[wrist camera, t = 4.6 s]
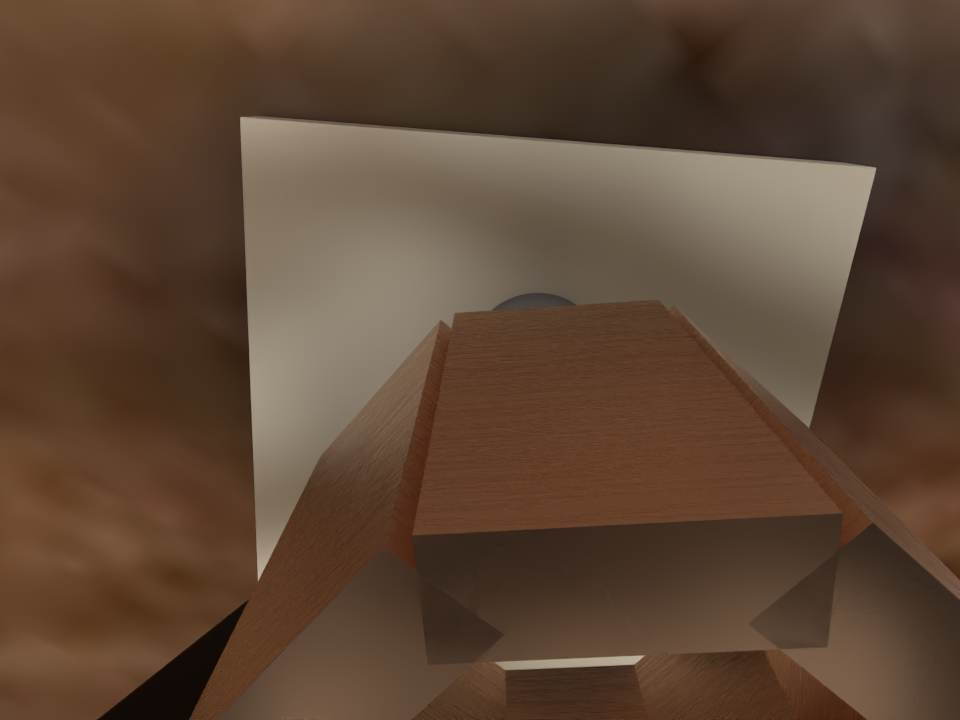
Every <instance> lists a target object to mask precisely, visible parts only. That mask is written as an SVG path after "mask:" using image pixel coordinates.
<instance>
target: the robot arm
mask: <svg viewBox="0 0 960 720" xmlns="http://www.w3.org/2000/svg"><path fill="white" fill-rule="evenodd" d="M248 601H249V600H247V601H246V602H245V603H244V604H242V605H241V606H240V607H239V608H237V609H236V610H235V611H234V612H232V613H231V614H230V615H229V616H227V617H226V618H225V619H224V620H222V621H221V622H220V623H218V624H217V625H216V626H215V627H213V628H212V629H211V630H210V631H208V632H207V633H206V634H205V635H203V636H202V637H201V638H200V639H198V640H197V641H196V642H195V643H193V644H192V645H191V646H189V647H188V648H187V649H186V650H184V651H183V652H182V653H181V654H179V655H178V656H177V657H176V658H174V659H173V660H172V661H171V662H169V663H168V664H167V665H166V666H164V667H163V668H162V669H161V670H159V671H158V672H157V673H155V674H154V675H153V676H152V677H150V678H149V679H148V680H147V681H145V682H144V683H143V684H142V685H140V686H139V687H138V688H137V689H135V690H134V691H133V692H132V693H130V694H129V695H128V696H126V697H125V698H124V699H123V700H121V701H120V702H119V703H118V704H116V705H115V706H114V707H113V708H111V709H110V710H109V711H108V712H106V713H105V714H104V715H103V716H101V717H100V718H99V719H97V720H189V719H190V717H191V715H192V713H193V711H194V709H195V707H196V705H197V703H198V701H199V699H200V697H201V695H202V693H203V691H204V689H205V687H206V685H207V683H208V681H209V679H210V677H211V675H212V673H213V671H214V669H215V667H216V665H217V663H218V661H219V659H220V657H221V655H222V653H223V651H224V649H225V647H226V645H227V643H228V641H229V639H230V637H231V635H232V633H233V631H234V629H235V627H236V625H237V623H238V621H239V619H240V617H241V615H242V613H243V611H244V609H245V607H246V605H247V603H248Z"/></svg>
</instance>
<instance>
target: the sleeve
mask: <svg viewBox="0 0 960 720" xmlns="http://www.w3.org/2000/svg"><path fill="white" fill-rule="evenodd" d="M642 655H645V656H644V657H643V658H641V659H640V660H639V661H638V662H637V663H635V664H634V665H613V666H590V667H567V668H544V669H521V670H505V669H503V668H502V667H500V666H499V665H497V664H496V663H495V662H507V661H529V660H552V659H574V658H597V657H620V656H642ZM189 720H960V581H959V580H958V579H957V578H956V577H955V576H954V575H953V574H952V573H951V572H950V571H949V570H948V569H947V567H946V566H945V565H944V564H943V563H942V562H941V561H940V560H939V559H938V558H937V557H936V556H935V555H934V554H933V553H932V552H931V551H930V550H929V549H928V548H927V547H926V546H925V545H924V544H923V543H922V542H921V541H920V540H919V539H918V538H917V537H916V536H915V535H914V534H913V533H912V532H911V531H910V530H909V529H908V528H907V527H906V526H905V525H904V524H903V523H902V522H901V521H900V520H899V519H898V518H897V517H896V516H895V515H894V514H893V513H892V512H891V511H890V510H889V509H888V508H887V507H886V506H885V505H884V504H883V503H882V502H881V501H880V500H879V499H878V498H877V497H876V495H875V494H874V493H873V492H872V491H871V490H870V489H869V488H868V487H867V486H866V485H865V484H864V483H863V482H862V481H861V480H860V479H859V478H858V477H857V476H856V475H855V474H854V473H853V472H852V471H851V470H850V469H849V468H848V467H847V466H846V465H845V464H844V463H843V462H842V461H841V460H840V459H839V458H838V457H837V456H836V455H835V454H834V453H833V452H832V451H831V450H830V449H829V448H828V447H827V446H826V445H825V444H824V443H823V442H822V441H821V440H820V439H819V438H818V437H817V436H816V435H815V434H814V433H813V432H812V431H811V430H810V429H809V428H808V427H807V426H806V425H805V424H804V423H803V422H802V421H801V420H800V419H799V418H797V417H796V416H795V415H794V414H793V413H792V412H791V411H790V410H789V409H788V408H786V407H785V406H784V405H783V404H782V403H781V402H780V401H779V400H778V399H777V398H776V397H774V396H773V395H772V394H771V393H770V392H769V391H768V390H767V389H766V388H765V387H763V386H762V385H761V384H760V383H759V382H758V381H757V380H756V379H755V378H754V377H752V376H751V375H750V374H749V373H748V372H747V371H746V370H745V369H744V368H743V367H741V366H740V365H739V364H738V363H737V362H736V361H735V360H734V359H733V358H732V357H730V356H729V355H728V354H727V353H726V352H725V351H724V350H723V349H722V348H721V347H720V346H718V345H717V344H716V343H715V342H714V341H713V340H712V339H711V338H710V337H709V336H707V335H706V334H705V333H704V332H703V331H702V330H701V329H700V328H699V327H698V326H696V325H695V324H694V323H693V322H692V321H691V320H690V319H689V318H688V317H687V316H685V315H684V314H683V313H682V312H681V311H680V310H679V309H678V308H677V307H676V306H675V305H673V306H672V307H671V308H670V309H669V310H667V309H666V307H665V306H664V305H663V304H662V303H661V302H660V300H647V301H631V302H616V303H600V304H585V305H570V306H554V307H539V308H523V309H508V310H493V311H477V312H462V313H455V314H454V319H453V324H452V328H450V327H449V326H448V325H447V324H446V323H444V322H443V321H442V320H440V321H439V322H438V323H437V324H436V326H435V327H434V328H433V329H432V330H431V331H430V332H429V333H428V335H427V336H426V337H425V338H424V339H423V340H422V341H421V343H420V344H419V345H418V346H417V347H416V348H415V349H414V350H413V352H412V353H411V354H410V355H409V356H408V357H407V358H406V360H405V361H404V362H403V363H402V364H401V365H400V366H399V367H398V369H397V370H396V371H395V372H394V373H393V374H392V375H391V376H390V378H389V379H388V380H387V381H386V382H385V383H384V384H383V386H382V387H381V388H380V389H379V390H378V391H377V392H376V393H375V395H374V396H373V397H372V398H371V399H370V400H369V401H368V403H367V404H366V405H365V406H364V407H363V408H362V409H361V410H360V412H359V413H358V414H357V415H356V416H355V417H354V418H353V419H352V421H351V422H350V423H349V424H348V425H347V426H346V427H345V429H344V430H343V431H342V432H341V433H340V434H339V435H338V436H337V438H336V439H335V440H334V441H333V442H332V443H331V444H330V446H329V447H328V448H327V449H326V450H325V451H324V452H323V453H322V455H321V456H320V458H319V460H318V462H317V464H316V466H315V468H314V470H313V472H312V474H311V476H310V478H309V480H308V482H307V484H306V486H305V488H304V490H303V492H302V494H301V496H300V498H299V500H298V502H297V504H296V506H295V508H294V510H293V512H292V514H291V516H290V518H289V520H288V522H287V524H286V526H285V528H284V530H283V532H282V534H281V536H280V538H279V540H278V542H277V544H276V546H275V548H274V550H273V552H272V554H271V556H270V558H269V560H268V562H267V564H266V566H265V568H264V570H263V572H262V574H261V576H260V578H259V580H258V582H257V584H256V586H255V588H254V591H253V593H252V595H251V597H250V599H249V601H248V603H247V605H246V607H245V609H244V611H243V613H242V615H241V617H240V619H239V621H238V623H237V625H236V627H235V629H234V631H233V633H232V635H231V637H230V639H229V641H228V643H227V645H226V647H225V649H224V651H223V653H222V655H221V657H220V659H219V661H218V663H217V665H216V667H215V669H214V671H213V673H212V675H211V677H210V679H209V681H208V683H207V685H206V687H205V689H204V691H203V693H202V695H201V697H200V699H199V701H198V703H197V705H196V707H195V709H194V711H193V713H192V715H191V717H190V719H189Z"/></svg>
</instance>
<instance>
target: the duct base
mask: <svg viewBox="0 0 960 720" xmlns="http://www.w3.org/2000/svg"><path fill="white" fill-rule="evenodd" d="M240 126H241V151H242V177H243V203H244V229H245V255H246V281H247V307H248V333H249V359H250V384H251V410H252V436H253V462H254V488H255V514H256V540H257V566H258V580H259V578H260V576H261V574H262V572H263V570H264V568H265V566H266V564H267V562H268V560H269V558H270V556H271V554H272V552H273V550H274V548H275V546H276V544H277V542H278V540H279V538H280V536H281V534H282V532H283V530H284V528H285V526H286V524H287V522H288V520H289V518H290V516H291V514H292V512H293V510H294V508H295V506H296V504H297V502H298V500H299V498H300V496H301V494H302V492H303V490H304V488H305V486H306V484H307V482H308V480H309V478H310V476H311V474H312V472H313V470H314V468H315V466H316V464H317V462H318V460H319V458H320V456H321V455H322V453H323V452H324V451H325V450H326V449H327V448H328V447H329V446H330V444H331V443H332V442H333V441H334V440H335V439H336V438H337V436H338V435H339V434H340V433H341V432H342V431H343V430H344V429H345V427H346V426H347V425H348V424H349V423H350V422H351V421H352V419H353V418H354V417H355V416H356V415H357V414H358V413H359V412H360V410H361V409H362V408H363V407H364V406H365V405H366V404H367V403H368V401H369V400H370V399H371V398H372V397H373V396H374V395H375V393H376V392H377V391H378V390H379V389H380V388H381V387H382V386H383V384H384V383H385V382H386V381H387V380H388V379H389V378H390V376H391V375H392V374H393V373H394V372H395V371H396V370H397V369H398V367H399V366H400V365H401V364H402V363H403V362H404V361H405V360H406V358H407V357H408V356H409V355H410V354H411V353H412V352H413V350H414V349H415V348H416V347H417V346H418V345H419V344H420V343H421V341H422V340H423V339H424V338H425V337H426V336H427V335H428V333H429V332H430V331H431V330H432V329H433V328H434V327H435V326H436V324H437V323H438V322H439V321H440V320H442V321H443V322H444V323H446V324H447V325H448V326H449V327H450V328H452V324H453V319H454V314H455V313H462V312H477V311H493V310H508V309H523V308H539V307H554V306H570V305H585V304H600V303H616V302H631V301H647V300H660V302H661V303H662V304H663V305H664V306H665V307H666V309H667V310H669V309H670V308H671V307H672V306H673V305H675V306H676V307H677V308H678V309H679V310H680V311H681V312H682V313H683V314H684V315H685V316H687V317H688V318H689V319H690V320H691V321H692V322H693V323H694V324H695V325H696V326H698V327H699V328H700V329H701V330H702V331H703V332H704V333H705V334H706V335H707V336H709V337H710V338H711V339H712V340H713V341H714V342H715V343H716V344H717V345H718V346H720V347H721V348H722V349H723V350H724V351H725V352H726V353H727V354H728V355H729V356H730V357H732V358H733V359H734V360H735V361H736V362H737V363H738V364H739V365H740V366H741V367H743V368H744V369H745V370H746V371H747V372H748V373H749V374H750V375H751V376H752V377H754V378H755V379H756V380H757V381H758V382H759V383H760V384H761V385H762V386H763V387H765V388H766V389H767V390H768V391H769V392H770V393H771V394H772V395H773V396H774V397H776V398H777V399H778V400H779V401H780V402H781V403H782V404H783V405H784V406H785V407H786V408H788V409H789V410H790V411H791V412H792V413H793V414H794V415H795V416H796V417H797V418H799V419H800V420H801V421H802V422H803V423H804V424H805V425H806V426H807V427H808V428H809V427H810V423H811V419H812V416H813V412H814V408H815V404H816V400H817V396H818V392H819V389H820V385H821V381H822V377H823V373H824V369H825V365H826V361H827V358H828V354H829V350H830V346H831V342H832V338H833V334H834V331H835V327H836V323H837V319H838V315H839V311H840V307H841V304H842V300H843V296H844V292H845V288H846V284H847V280H848V276H849V273H850V269H851V265H852V261H853V257H854V253H855V249H856V246H857V242H858V238H859V234H860V230H861V226H862V222H863V219H864V215H865V211H866V207H867V203H868V199H869V195H870V191H871V188H872V184H873V180H874V176H875V172H876V168H874V167H868V166H862V165H856V164H850V163H842V162H830V161H817V160H805V159H792V158H780V157H767V156H755V155H742V154H729V153H717V152H704V151H692V150H679V149H667V148H654V147H642V146H629V145H617V144H604V143H592V142H579V141H566V140H554V139H541V138H529V137H516V136H504V135H491V134H479V133H466V132H454V131H441V130H429V129H416V128H403V127H391V126H378V125H366V124H353V123H341V122H328V121H316V120H303V119H291V118H278V117H266V116H254V117H240ZM644 656H645V655H642V656H620V657H597V658H574V659H552V660H529V661H507V662H495V663H496V664H497V665H499V666H500V667H502V668H503V669H505V670H521V669H544V668H567V667H590V666H613V665H634V664H635V663H637V662H638V661H639V660H640V659H641V658H643V657H644Z"/></svg>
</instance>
